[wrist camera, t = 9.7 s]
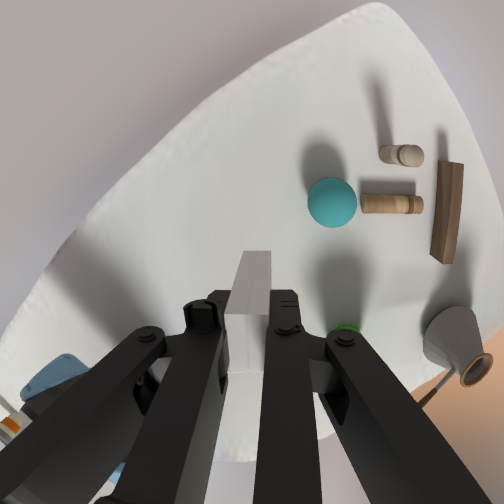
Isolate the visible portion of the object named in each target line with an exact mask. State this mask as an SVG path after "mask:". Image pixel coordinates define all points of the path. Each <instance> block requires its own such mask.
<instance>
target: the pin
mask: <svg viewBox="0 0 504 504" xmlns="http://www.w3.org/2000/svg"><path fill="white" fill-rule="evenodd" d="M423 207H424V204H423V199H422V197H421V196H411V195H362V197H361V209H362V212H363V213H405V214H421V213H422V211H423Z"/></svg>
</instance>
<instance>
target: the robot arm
mask: <svg viewBox="0 0 504 504" xmlns="http://www.w3.org/2000/svg"><path fill="white" fill-rule="evenodd" d="M183 310H184V316H185V322H186V329H185V331H184V333H183V334H179V335H172V336H165V334H164V331H163V330H162V329H161V328H159V327H155V326H145V327H142V328H139V329H137V330H135V331H134V332H132V333H131V334H130V335H129V336H128V337H127V338H125V339H124V340H123V341H122V342H121V343H120V344H119V345H117V346H116V347H115V348H114V349H113V350H112V351H111V352H109V353H108V354H107V355H106V356H105V357H104V358H103V359H101V360H100V361H99V362H98V363H97V364H96V365H95V366H94V367H92V368H88V367H87V366H86V365H85V364H83V363H82V362H81V361H80V360H79V359H78V358H76V357H75V356H74V355H72V354H62V355H60V356H58V357H57V358H56V359H54V360H53V361H51V362H50V363H49V364H48V365H46V366H45V367H44V368H43V369H42V370H41V371H40V372H38V373H37V374H36V375H35V376H34V377H33V378H32V379H31V380H30V381H29V383H28V384H27V385H26V386H25V387H24V388H23V389H22V390H21V392H20V397H21V398H22V401H24V402H25V404H24V405H23V406H22V408H21V409H20V410H19V412H20V418H21V428H20V429H19V430H18V432H17V433H16V435H15V436H14V437H13V439H12V440H11V442H10V443H9V444H8V445H7V446H6V447H5V448H3V450H1V451H0V504H88V503H89V502H90V501H91V500H92V498H93V497H94V496H95V495H96V493H97V492H98V491H99V490H100V489H101V487H102V486H103V485H104V483H105V482H106V481H107V480H109V481H110V482H112V483H114V484H116V486H115V489H114V491H113V492H112V494H110V495H109V496H104V497H100V498H99V499H98V500H96V501H95V502H94V504H204V500H205V495H206V490H207V484H208V480H209V475H210V470H211V465H212V460H213V455H214V450H215V445H216V441H217V436H218V431H219V426H220V421H221V416H222V411H223V406H224V401H225V396H226V391H227V386H228V374H227V371H228V366H229V369H230V373H257V374H264V375H263V388H262V402H261V415H260V427H259V439H258V451H257V463H256V474H255V484H254V495H253V504H322V491H321V476H320V463H319V451H318V440H317V429H316V419H315V409H314V400H313V392H316V393H318V395H319V398H320V400H321V402H322V405H323V407H324V409H325V411H326V413H327V415H328V417H329V419H330V421H331V423H332V425H333V427H334V429H335V431H336V433H337V435H338V437H339V439H340V442H341V444H342V446H343V448H344V450H345V452H346V454H347V456H348V458H349V460H350V462H351V464H352V466H353V468H354V470H355V472H356V474H357V476H358V479H359V481H360V483H361V485H362V487H363V489H364V491H365V493H366V495H367V497H368V499H369V501H370V503H371V504H492V503H491V501H490V500H489V498H488V497H487V496H486V494H485V493H484V492H483V490H482V488H481V487H480V486H479V484H478V483H477V481H476V480H475V479H474V477H473V476H472V474H471V473H470V472H469V470H468V469H467V468H466V466H465V465H464V464H463V462H462V461H461V459H460V458H459V457H458V456H457V454H456V453H455V452H454V450H453V449H452V447H451V446H450V445H449V444H448V442H447V441H446V440H445V438H444V437H443V436H442V434H441V433H440V432H439V430H438V429H437V428H436V426H435V425H434V424H433V423H432V421H431V420H430V419H429V417H428V416H427V415H426V414H425V412H424V411H423V410H422V408H421V407H420V406H419V405H418V403H417V402H416V401H415V400H414V398H413V397H412V396H411V395H410V393H409V392H408V391H407V390H406V388H405V387H404V386H403V385H402V383H401V382H400V381H399V380H398V378H397V377H396V376H395V375H394V373H393V372H392V371H391V370H390V368H389V367H388V366H387V365H386V364H385V362H384V361H383V360H382V359H381V357H380V356H379V355H378V354H377V353H376V351H375V350H374V349H373V348H372V347H371V345H370V344H369V343H368V342H367V341H366V339H365V338H364V337H363V336H362V335H361V334H360V333H358V332H356V331H354V330H351V329H337V330H334V331H331V332H330V333H329V334H327V337H326V338H322V337H317V336H313V335H311V334H309V333H307V332H306V331H305V329H304V327H303V325H302V324H301V316H300V309H299V302H298V295H297V294H296V293H295V292H294V291H293V290H272V285H271V251H243V255H242V258H241V261H240V264H239V267H238V271H237V274H236V277H235V280H234V283H233V287H232V290H215V291H213V292H212V293H211V294H209V295H208V297H207V299H201V300H195V301H192V302H190V303H188V304H186V305H185V306H184V307H183Z"/></svg>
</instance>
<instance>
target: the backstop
mask: <svg viewBox="0 0 504 504" xmlns="http://www.w3.org/2000/svg"><path fill="white" fill-rule="evenodd" d="M463 170H464V164H461V163H455V162H447V161H439V160H438V180H437V196H436V209H435V219H434V228H433V235H432V243H431V250H430V255H431V256H433V257H434V258H435V259H437V260H438V261H439V262H440V263H442V264H453V260H454V254H455V248H456V242H457V236H458V229H459V221H460V212H461V202H462V189H463Z"/></svg>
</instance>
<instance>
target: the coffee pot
mask: <svg viewBox="0 0 504 504" xmlns="http://www.w3.org/2000/svg"><path fill="white" fill-rule="evenodd" d="M423 352H424V354H425V357H426V358H427V359H428V360H429V361H431V362H433V363H435V364H437V365H440V366H442V367H444V368H446V369H448V370H450V371H449V372H448V373H447V375H446V376H445V377H444V378H443V379H442V380H441V381H440V382H439V384H438V385H437V386H436V387H435V388H433V389H432V390H431V391H430V392H429V393H428V394H427V395H426V396H425V397H423V398H422V399H421V400H420V401H419V402H418V405H419V406H420V407H421V408H423V407H424V406H425V405H426V404H427V403H428V401H429V400H430V399H431V398H432V397H433V396H434V395H435V394H436V393H437V391H438V390H439V389H440V388H441V387H442V386H443V385H444V384H445V383H446V382H447V380H449V378H450V377H451V376H452V375H453V374H454V373H456V374H459V375H460V377H461V378H460V384H461V385H462V386H463V387H471V386H473V385H475V384H477V383H478V382H479V381H481V380H482V379H483V378H484V377H485V375H486V374H487V373H488V372H489V370H490V368H491V366H492V364H493V357H492V355H491V354H488V353H484V352H483V346H482V341H481V337H480V332H479V328H478V324H477V320H476V316H475V314H474V312H473V311H472V310H471V309H470V308H468V307H465V306H453V307H450V308H448V309H446V310H444V311H442V312H440V313H439V314H438V315H437V316H436V317H435V318H434V319H433V320H432V321H431V323H430V325H429V326H428V328H427V330H426V333H425V335H424V339H423Z"/></svg>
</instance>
